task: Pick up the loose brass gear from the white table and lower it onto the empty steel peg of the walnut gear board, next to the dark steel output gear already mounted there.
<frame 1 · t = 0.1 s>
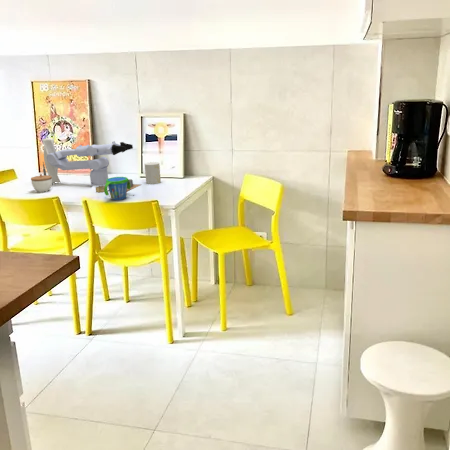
hand: (129, 147, 266), 22 cm above the table, tool horizontal, fingers open, 7 cm apart
gear board: (124, 189, 265), on the table
brass gear: (101, 193, 259), on the table
output gear: (127, 186, 267), resting on gear board
snack cup: (118, 199, 246), on the table
cup: (153, 185, 275), on the table
skyscraper: (53, 182, 292), on the table
lidded jar: (43, 191, 270), on the table
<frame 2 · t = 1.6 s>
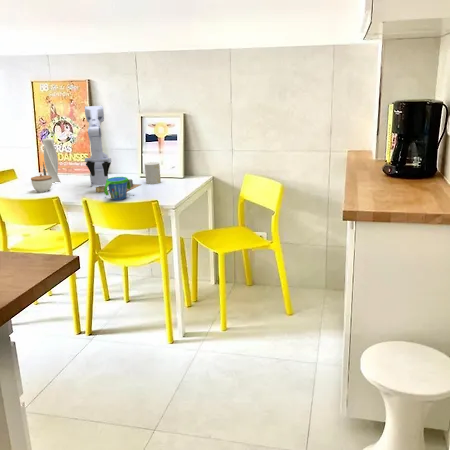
hand: (99, 175, 256), 9 cm above the table, tool pointing down, fingers open, 7 cm apart
nothing on the table moved.
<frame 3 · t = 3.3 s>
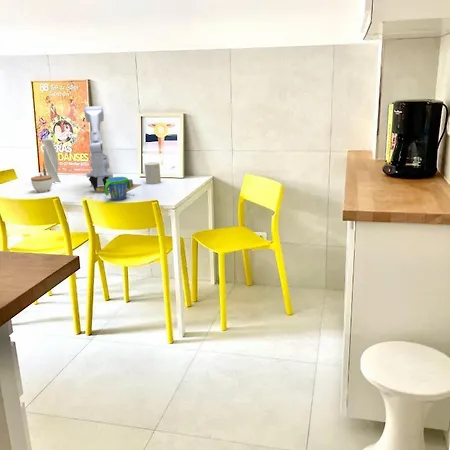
hand: (101, 190, 258), 1 cm above the table, tool pointing down, fingers closed on brass gear, 5 cm apart
brass gear: (101, 193, 259), on the table, touching gripper
everything else where it was.
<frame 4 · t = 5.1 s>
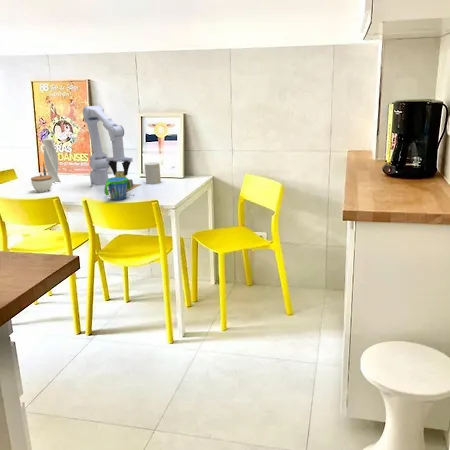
hand: (120, 175, 259), 9 cm above the table, tool pointing down, fingers closed on brass gear, 5 cm apart
brass gear: (120, 178, 259), point 7 cm above the table, touching gripper
everything else where it was.
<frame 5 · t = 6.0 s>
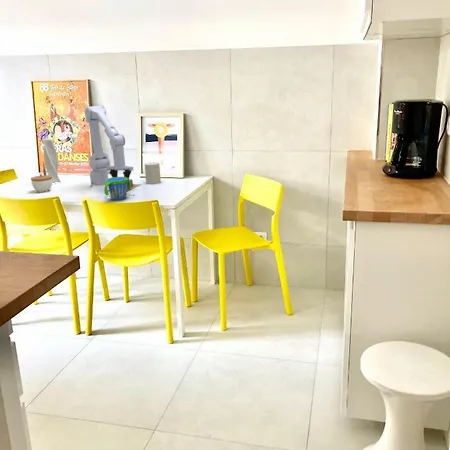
hand: (121, 183, 260), 4 cm above the table, tool pointing down, fingers closed on brass gear, 5 cm apart
brass gear: (121, 187, 261), point 2 cm above the table, touching gripper
everything else where it was.
when the fingers open (4 cm above the table, at t = 6.9 s): brass gear drops 1 cm, resting on gear board.
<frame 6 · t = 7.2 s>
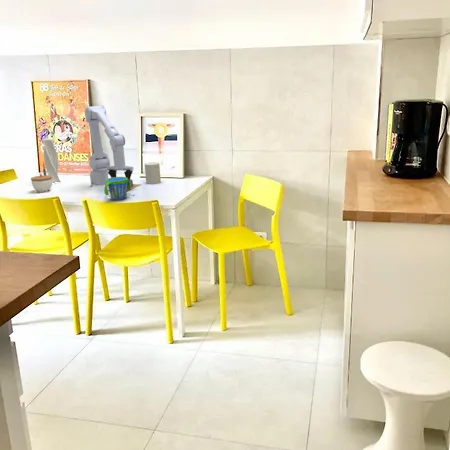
hand: (121, 183, 260), 4 cm above the table, tool pointing down, fingers open, 7 cm apart
brass gear: (122, 189, 261), point 1 cm above the table, touching gear board
everything else where it was.
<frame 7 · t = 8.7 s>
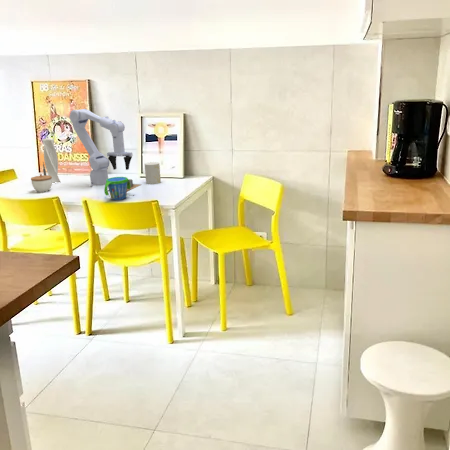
hand: (121, 169, 269), 10 cm above the table, tool pointing down, fingers open, 7 cm apart
nothing on the table moved.
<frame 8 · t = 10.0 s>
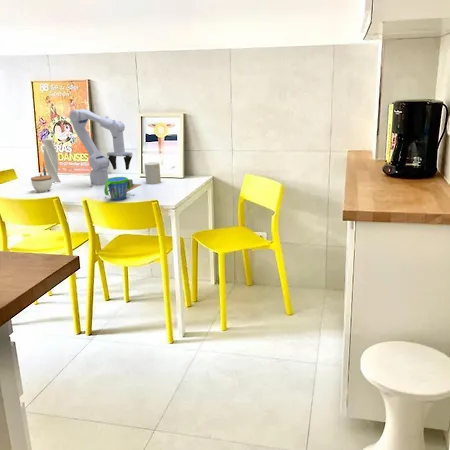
hand: (121, 169, 269), 10 cm above the table, tool pointing down, fingers open, 7 cm apart
nothing on the table moved.
at the end: brass gear 0.4 cm from the target spot, point 1.2 cm above the table; brass gear tilted 0°; the gripper is holding nothing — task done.
